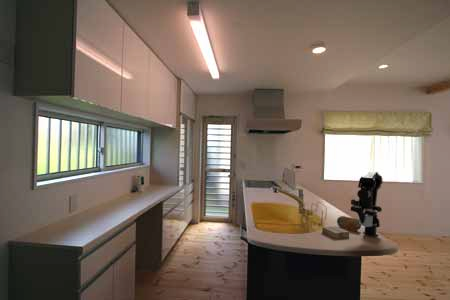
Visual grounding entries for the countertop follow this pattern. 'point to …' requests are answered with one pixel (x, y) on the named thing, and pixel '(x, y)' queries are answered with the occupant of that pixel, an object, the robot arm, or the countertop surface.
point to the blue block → (367, 221)
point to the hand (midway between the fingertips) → (365, 223)
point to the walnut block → (335, 232)
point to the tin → (348, 223)
